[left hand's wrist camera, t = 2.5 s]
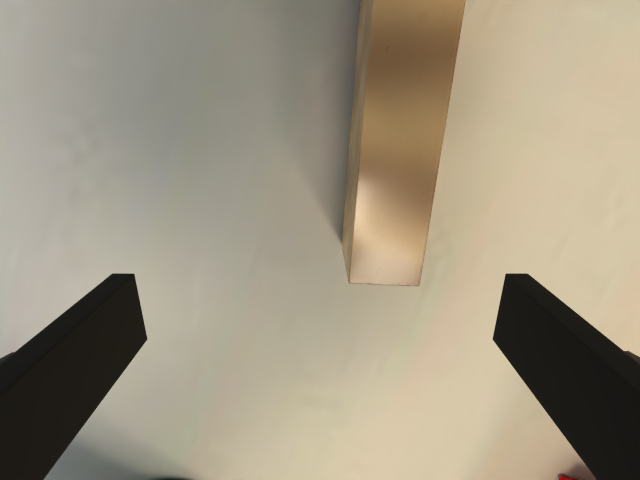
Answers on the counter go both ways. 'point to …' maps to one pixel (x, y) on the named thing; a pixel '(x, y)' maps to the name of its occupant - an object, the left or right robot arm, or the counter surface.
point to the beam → (397, 135)
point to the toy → (565, 478)
